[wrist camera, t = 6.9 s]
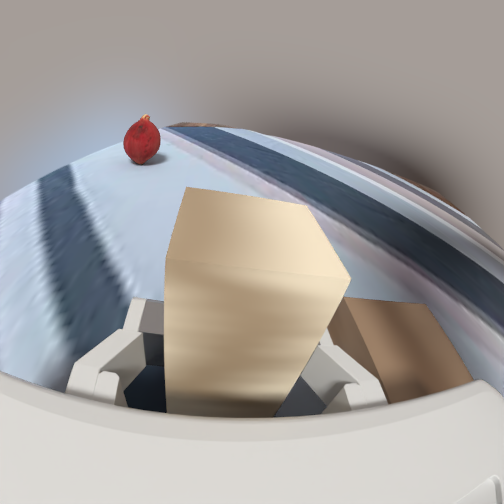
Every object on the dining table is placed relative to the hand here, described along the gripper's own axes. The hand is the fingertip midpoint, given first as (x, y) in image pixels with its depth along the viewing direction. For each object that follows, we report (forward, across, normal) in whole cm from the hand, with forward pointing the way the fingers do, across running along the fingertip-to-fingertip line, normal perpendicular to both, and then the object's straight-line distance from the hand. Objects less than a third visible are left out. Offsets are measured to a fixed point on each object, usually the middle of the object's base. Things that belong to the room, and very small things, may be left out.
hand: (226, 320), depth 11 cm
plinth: (+1, -12, +6) cm, 13 cm away
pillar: (-1, 0, +6) cm, 6 cm away
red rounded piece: (+36, +12, +6) cm, 39 cm away
